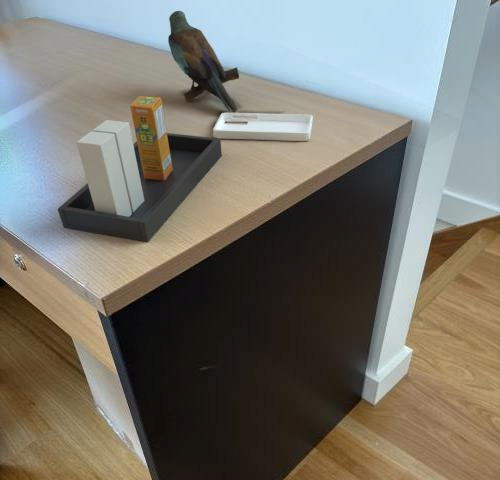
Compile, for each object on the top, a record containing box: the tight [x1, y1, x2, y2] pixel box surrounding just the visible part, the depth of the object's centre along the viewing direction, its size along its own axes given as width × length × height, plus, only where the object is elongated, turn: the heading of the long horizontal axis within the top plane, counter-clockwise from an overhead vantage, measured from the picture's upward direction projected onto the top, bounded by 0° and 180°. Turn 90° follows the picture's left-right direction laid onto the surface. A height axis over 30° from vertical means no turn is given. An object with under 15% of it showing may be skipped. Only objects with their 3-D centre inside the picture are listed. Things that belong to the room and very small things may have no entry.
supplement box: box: [129, 95, 173, 181], centre depth 67 cm, size 3×3×10 cm
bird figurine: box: [167, 10, 240, 113], centre depth 89 cm, size 13×10×20 cm
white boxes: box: [76, 119, 144, 217], centre depth 60 cm, size 3×6×10 cm, turn 161°
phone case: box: [212, 112, 314, 142], centre depth 81 cm, size 7×1×15 cm
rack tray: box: [57, 132, 223, 243], centre depth 68 cm, size 12×24×3 cm, turn 161°
